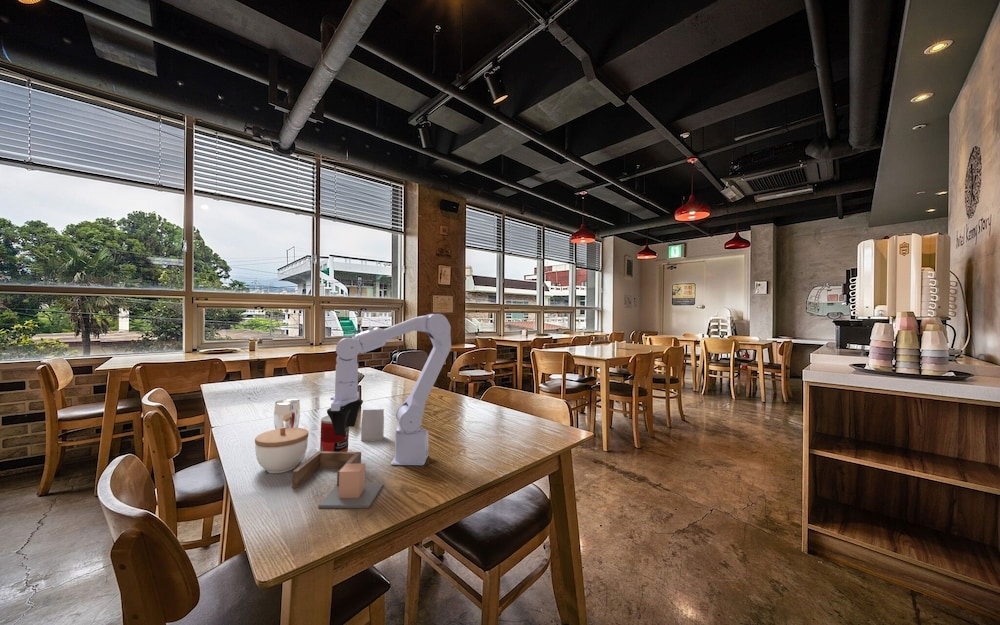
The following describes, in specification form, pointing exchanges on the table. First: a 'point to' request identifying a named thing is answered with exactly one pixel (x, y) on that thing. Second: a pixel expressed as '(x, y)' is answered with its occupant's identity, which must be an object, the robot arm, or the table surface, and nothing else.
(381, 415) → the grey rectangular block
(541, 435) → the table surface
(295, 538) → the table surface
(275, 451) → the lidded bowl
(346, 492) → the block
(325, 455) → the brown piece
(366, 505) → the coaster
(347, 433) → the canned food
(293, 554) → the table surface
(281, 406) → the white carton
